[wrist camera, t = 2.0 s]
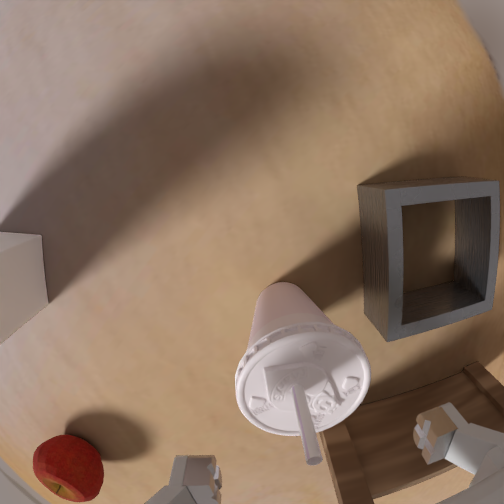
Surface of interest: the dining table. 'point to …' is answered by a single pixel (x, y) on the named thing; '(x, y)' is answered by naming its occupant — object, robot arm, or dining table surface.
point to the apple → (69, 468)
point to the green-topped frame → (404, 435)
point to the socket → (391, 254)
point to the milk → (20, 281)
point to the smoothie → (299, 369)
